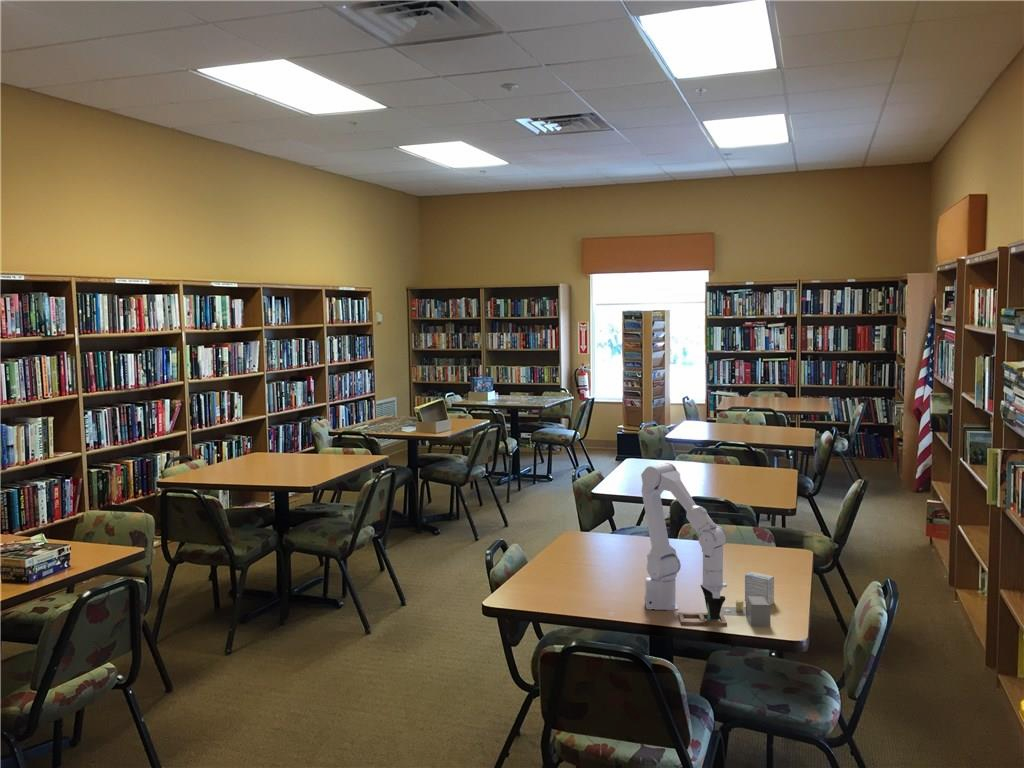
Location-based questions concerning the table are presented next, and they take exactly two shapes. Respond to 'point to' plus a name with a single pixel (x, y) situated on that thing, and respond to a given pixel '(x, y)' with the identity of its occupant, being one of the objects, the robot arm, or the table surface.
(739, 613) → the tile
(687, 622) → the walnut board
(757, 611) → the housing
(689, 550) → the table surface
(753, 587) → the medicine box
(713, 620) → the teal peg
